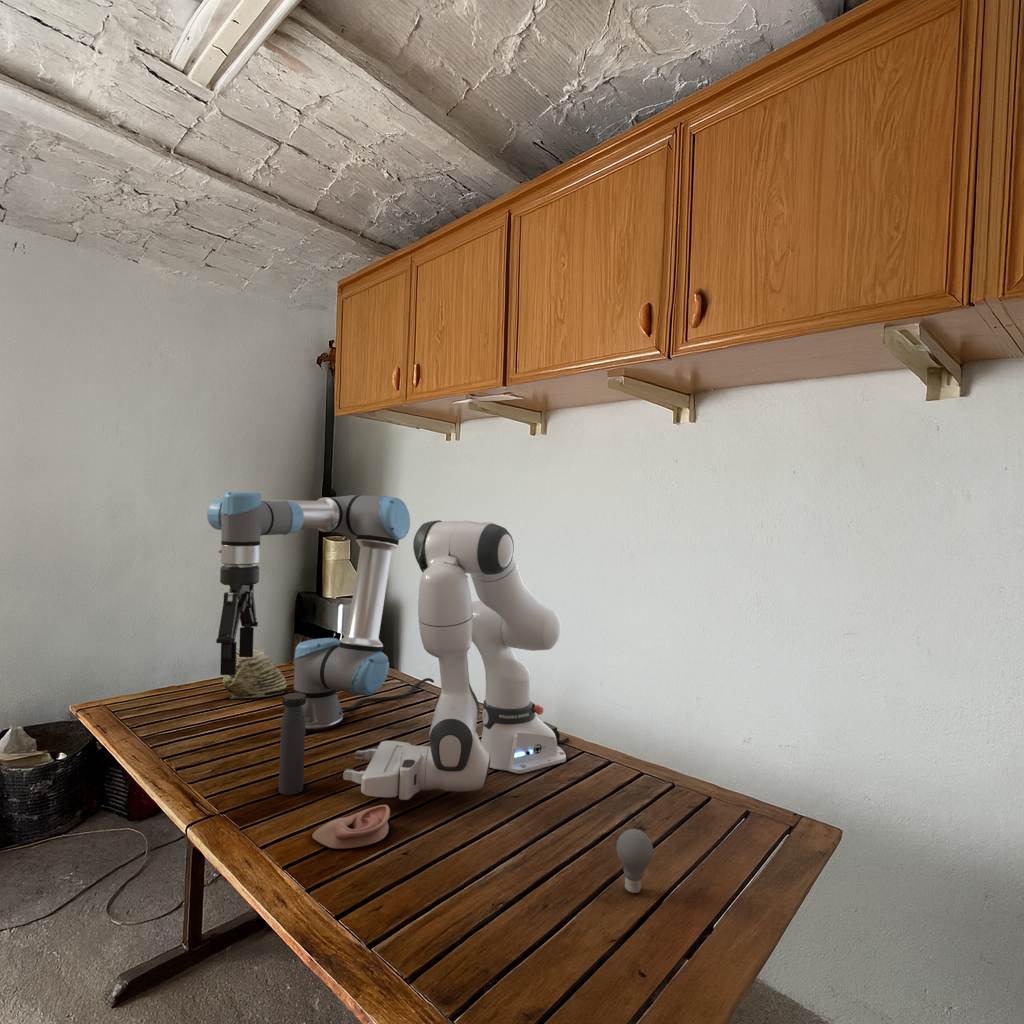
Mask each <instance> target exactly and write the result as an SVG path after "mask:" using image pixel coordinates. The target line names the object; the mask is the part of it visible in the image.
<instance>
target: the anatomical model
mask: <svg viewBox="0 0 1024 1024" xmlns="http://www.w3.org/2000/svg"><path fill="white" fill-rule="evenodd" d="M390 816H391V809H390V807H389V805H388V804H380V805H376V806H372V807H368V808H366V809H363V810H361V811H359V812H356V813H353V814H351V815H349V816H346V817H338V818H336V819H333V820H331V821H328V822H326V823H325V824H323V825H322V826H320V827H319V828H317V829H316V830H315V831H314V832H313V833H312V834H311V837H312V839H313V840H315V841H316V842H318V843H319V844H320V845H322V846H325V847H327V848H330V849H334V850H335V849H336V850H341V849H344V850H345V849H353V848H359V847H365V846H369V845H373V844H375V843H378V842H380V841H382V840H384V839H385V838H386V837H387V835H388V833H389V828H390V826H389V825H390V824H389V823H388V821H389V819H390Z"/></svg>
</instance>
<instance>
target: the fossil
mask: <svg viewBox="0 0 1024 1024" xmlns="http://www.w3.org/2000/svg"><path fill="white" fill-rule="evenodd" d="M222 676H223V677H222V685H223V687H224V688H225V690H226V691H228V693H229V698H230V699H250V698H264V697H271V696H275V695H281V694H284V693H285V691H286V689H287V687H288V686H287V680H286V678H285V676H284V674H283V673H282V672H281V669H279V668H278V667H277V665H276V663H275V662H274V660H273V659H272V658H271V657H270V656H269V655H268V654H267V653H266V652H265V650H264V649H263V648H260V647H258V648H253V657H239V646H238V647H236V674H235V675H222Z"/></svg>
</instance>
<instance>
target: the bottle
mask: <svg viewBox="0 0 1024 1024" xmlns="http://www.w3.org/2000/svg"><path fill="white" fill-rule="evenodd" d="M305 725H306V720H305V714H304V711H303V708H302V706H298V707H287V706H285V709H284V712H283V715H282V717H281V721H280V740H279V741H280V744H279V767H278V770H279V771H278V793H280V794H282V795H286V796H289V795H291V796H292V795H296V794H299V793H300V792H302V791H304V777H305V776H304V773H305V750H306V732H305Z"/></svg>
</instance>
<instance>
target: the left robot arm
mask: <svg viewBox="0 0 1024 1024" xmlns="http://www.w3.org/2000/svg"><path fill="white" fill-rule="evenodd" d="M206 517H207V519H206V520H207V522H208V524H209V525H210V526H211V527H212V528H213V529H215V530H218V531H220V532H221V533H220V536H221V540H220V542H221V543H220V545H221V546H220V548H218V550H217V551H218V553H219V554H220V563H221V564H222V566H221V567H220V569H219V570H220V573H219V574H220V576H219V581H220V584H221V585H224V586H229V591H226V592H224V593H223V602H222V603H223V604H222V610H221V615H220V622H219V627H218V628H219V629H218V635H217V638H216V640H215V643H216V644H220V669H219V670H220V671H219V672H220V674H219V675H220V676H223V675H235V674H236V649H237V643H238V642H237V641H236V638H237V632H238V628H239V623H240V625H241V627H240V628H239V646H238V647H239V657H253V649H254V633H255V630H254V629H255V628H256V627H258V625H259V622H258V621H257V619H258V618H257V612H256V601H255V594H254V593H255V592H254V591H255V588H254V587H255V585H257V584H258V583H259V581H260V566H258V564H260V563H261V536H279V535H284V536H287V535H291V534H295V533H297V532H299V531H300V530H312V529H315V530H316V529H317V530H318V531H320V532H323V533H338V534H342V535H348V536H355V537H356V538H355V542H356V543H357V545H358V546H359V548H360V549H359V554H358V560H357V561H358V562H357V567H356V574H355V580H354V586H353V591H352V592H353V593H352V599H351V605H350V612H349V617H348V623H347V631H346V635H345V636H344V637H343V638H341V639H340V640H339V638H336V637H322V638H313V639H307V640H304V641H302V642H299V643H298V644H297V645H296V647H295V652H294V653H295V654H294V657H293V659H294V660H293V662H294V663H293V665H294V667H293V693H302V694H305V695H306V696H305V697H306V703H305V704H304V705H302V708H303V711H304V714H305V720H306V725H305V733H316V732H325V731H329V730H332V729H335V728H337V727H339V726H340V725H342V723H343V722H344V713H343V711H351V710H353V709H355V708H356V707H358V706H359V705H360V704H362V703H366V702H371V701H372V702H374V701H375V702H376V701H390V700H396V699H401V698H406V697H408V696H410V695H412V694H414V693H415V691H416V688H418V687H419V686H420V685H422V684H423V683H426V682H430V683H435V680H434V679H433V678H431V677H425V678H423V679H422V680H420V681H419V682H417V683H416V684H414V685H413V686H412V688H411V690H410V691H407V692H405V693H402V694H396V695H389V696H374V697H369V696H372V695H374V694H376V693H377V692H378V691H379V690H380V689H381V687H383V685H384V684H385V682H386V679H387V677H388V674H389V670H390V661H389V658H388V656H387V654H385V653H384V652H383V650H384V644H383V643H382V641H381V640H380V631H381V624H382V617H383V611H384V605H385V597H386V593H387V592H386V591H387V585H388V579H389V574H390V573H389V572H390V566H391V565H390V564H391V558H392V553H393V551H394V550H397V548H398V547H399V543H400V541H401V540H403V539H405V538H406V537H407V535H408V533H409V532H410V528H411V516H410V512H409V509H408V507H407V505H406V503H405V502H404V501H403V500H402V499H400V497H399V498H398V497H395V496H389V495H360V494H351V495H343V496H333V497H332V496H331V497H326V496H325V497H321V498H318V499H317V500H297V499H262V495H261V493H260V492H258V491H226V492H225V493H224V494H223V496H222V498H217V499H214V500H213V501H212V502H211V503H210V504H209V506H208V508H207V511H206ZM338 692H343V693H348V694H352V695H353V696H365V697H366V696H367V697H366V698H362V699H359V700H358V701H355V703H354V704H353V705H351V706H341V702H340V699H339V695H338Z"/></svg>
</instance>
